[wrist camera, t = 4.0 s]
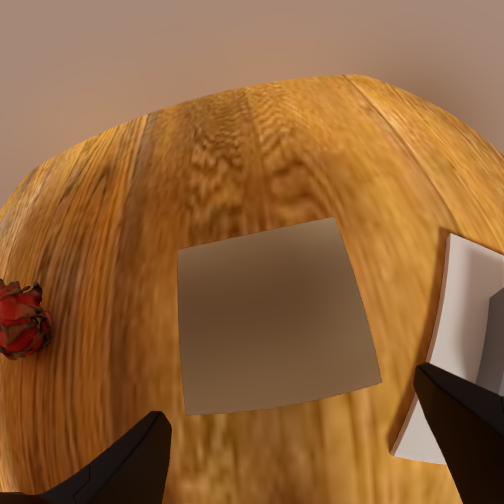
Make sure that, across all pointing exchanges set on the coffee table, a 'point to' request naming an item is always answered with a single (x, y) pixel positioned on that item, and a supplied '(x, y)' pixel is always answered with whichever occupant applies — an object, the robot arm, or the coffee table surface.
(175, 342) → the coffee table surface
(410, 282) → the coffee table surface
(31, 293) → the dragon fruit
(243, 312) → the walnut post
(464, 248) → the plate
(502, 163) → the coffee table surface
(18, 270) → the coffee table surface
